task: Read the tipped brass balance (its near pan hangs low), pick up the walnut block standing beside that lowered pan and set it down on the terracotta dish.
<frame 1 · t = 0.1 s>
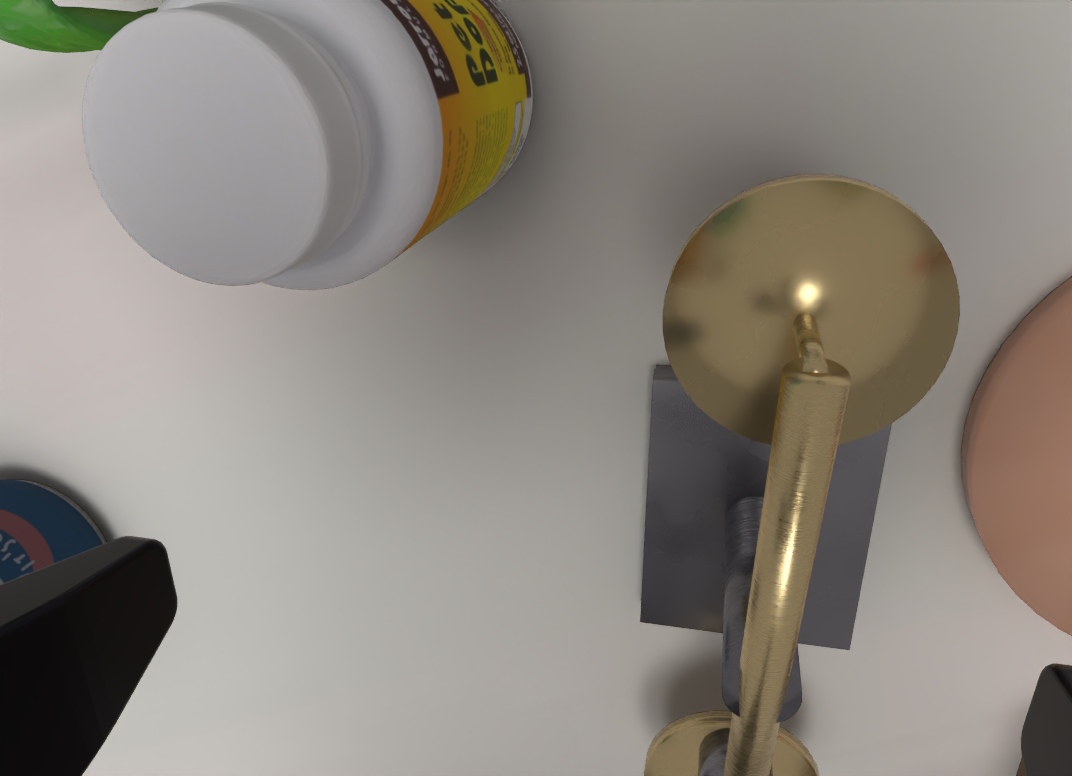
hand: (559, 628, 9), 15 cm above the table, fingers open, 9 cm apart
supplement bottle: (433, 90, 21), on the table
balance: (755, 501, 24), on the table
soda can: (49, 541, 31), on the table
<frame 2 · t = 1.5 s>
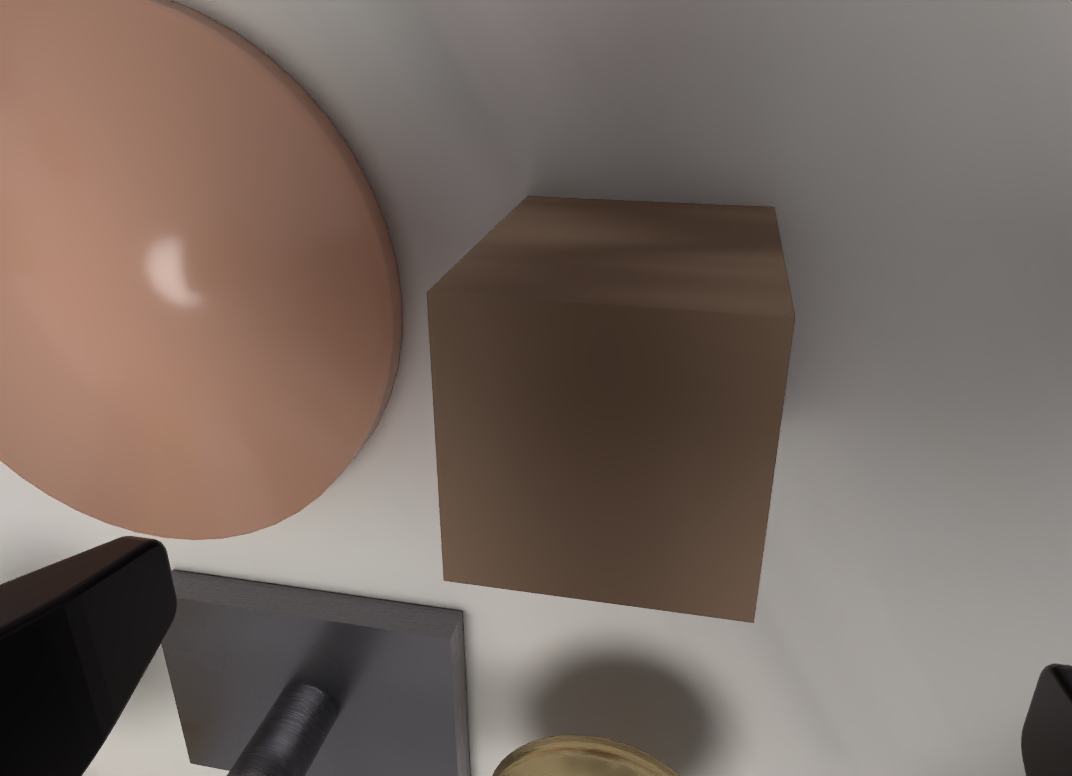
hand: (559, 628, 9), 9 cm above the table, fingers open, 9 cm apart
balance: (324, 679, 23), on the table
block: (641, 316, 17), on the table
dish: (147, 283, 19), on the table
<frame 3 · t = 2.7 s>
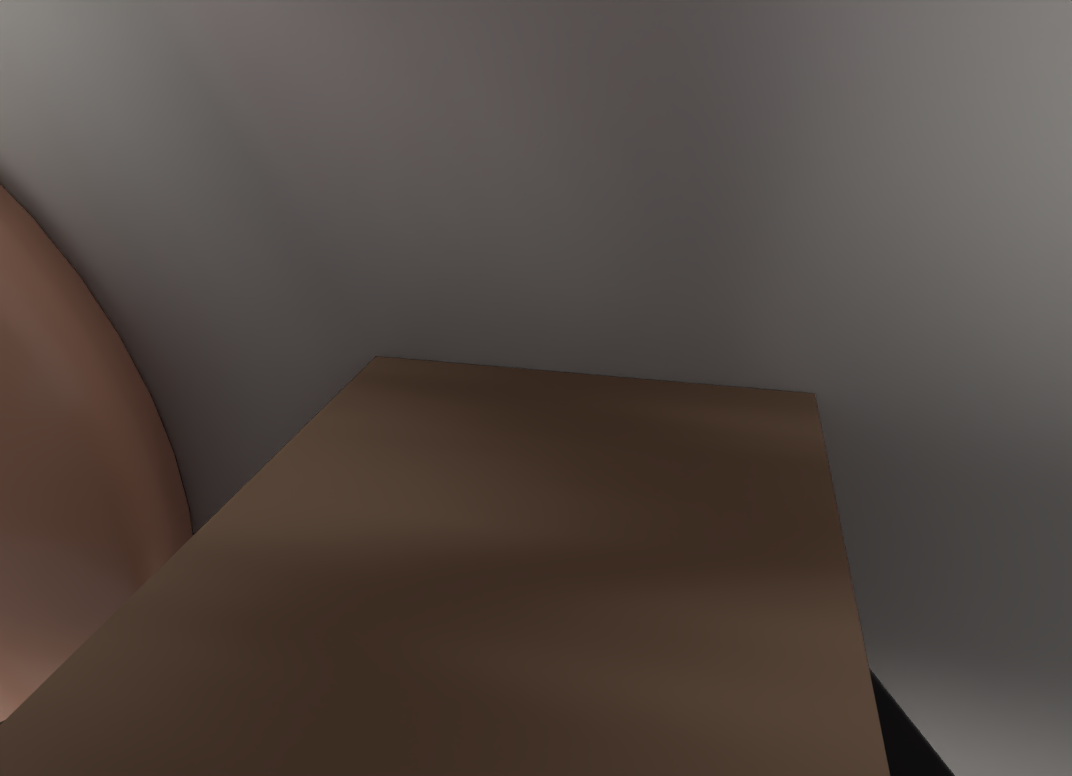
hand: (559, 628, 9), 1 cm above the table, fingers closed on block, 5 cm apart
block: (579, 556, 10), on the table, touching gripper
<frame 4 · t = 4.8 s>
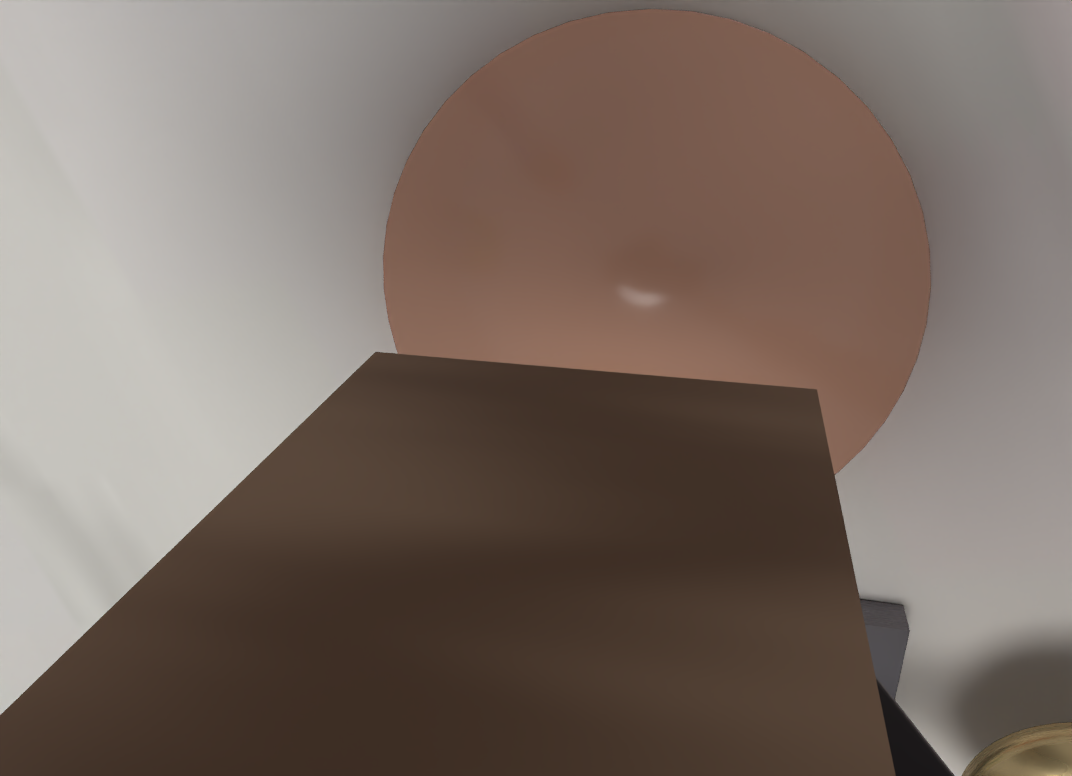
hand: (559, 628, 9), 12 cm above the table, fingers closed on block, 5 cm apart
balance: (733, 671, 24), on the table
block: (580, 553, 10), point 11 cm above the table, touching gripper
dish: (643, 289, 20), on the table
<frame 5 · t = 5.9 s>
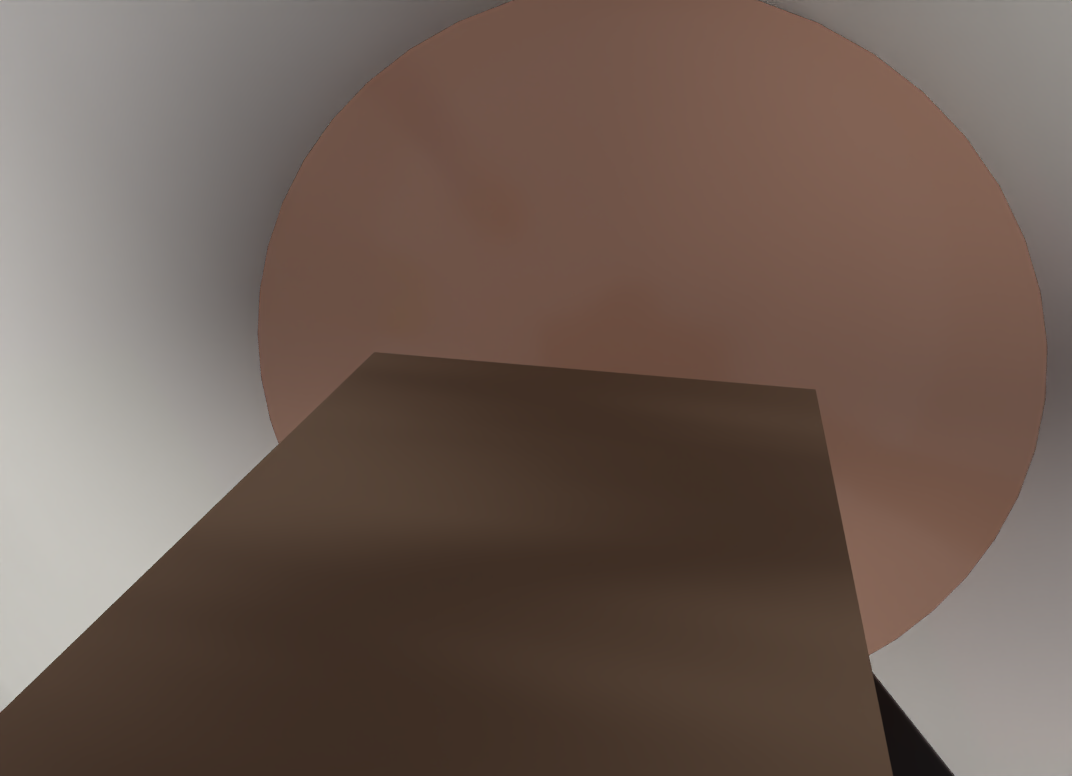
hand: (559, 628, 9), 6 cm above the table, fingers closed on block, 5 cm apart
block: (579, 553, 10), point 5 cm above the table, touching gripper
dish: (623, 379, 14), on the table
when the fingers open (4 cm above the table, at t = 6.7 s): block drops 2 cm, resting on dish.
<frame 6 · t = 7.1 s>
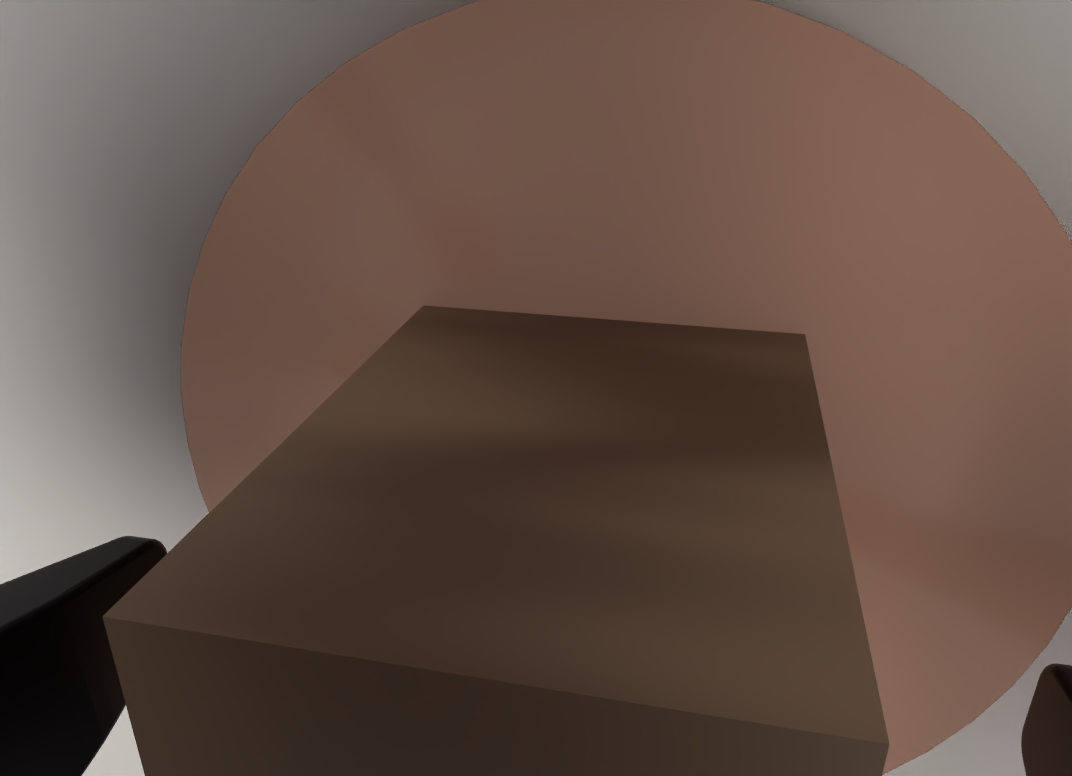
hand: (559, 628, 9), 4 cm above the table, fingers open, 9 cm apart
block: (599, 484, 11), point 1 cm above the table, touching dish
dish: (608, 444, 12), on the table
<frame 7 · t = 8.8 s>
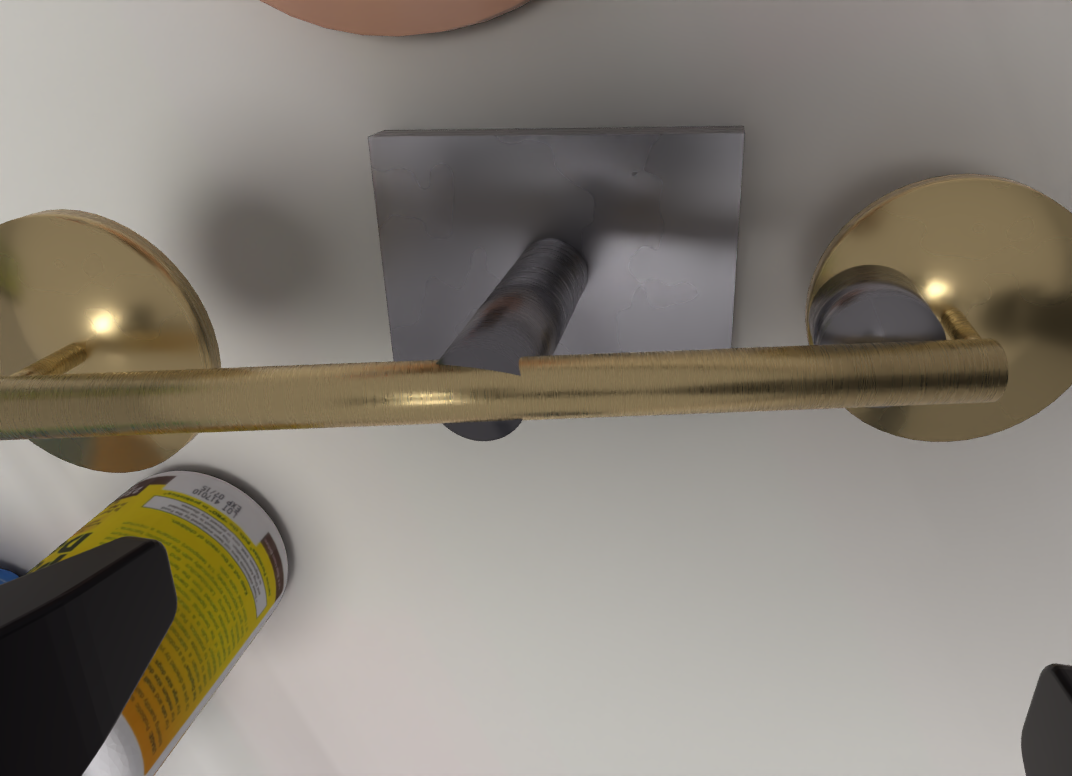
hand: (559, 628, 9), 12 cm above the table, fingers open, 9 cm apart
supplement bottle: (214, 538, 26), on the table
balance: (559, 261, 20), on the table
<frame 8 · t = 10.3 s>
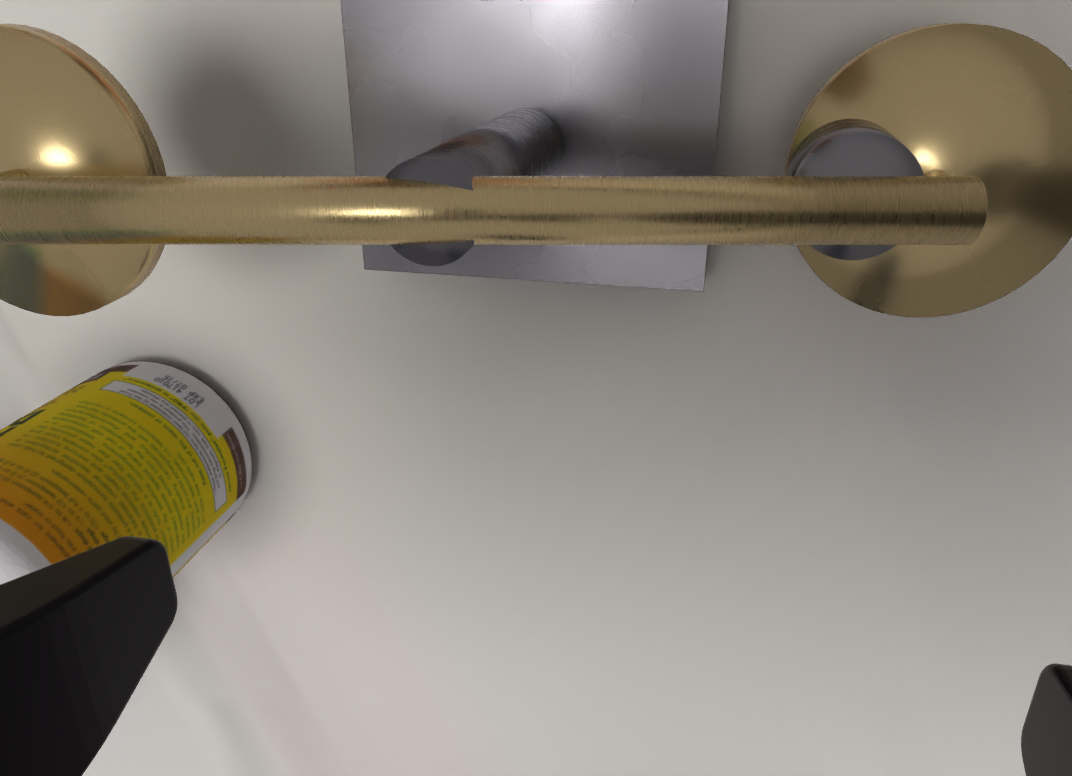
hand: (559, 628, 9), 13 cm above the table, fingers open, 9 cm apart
supplement bottle: (178, 437, 25), on the table
balance: (536, 139, 19), on the table
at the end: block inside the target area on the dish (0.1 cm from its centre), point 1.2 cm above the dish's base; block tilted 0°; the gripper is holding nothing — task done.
